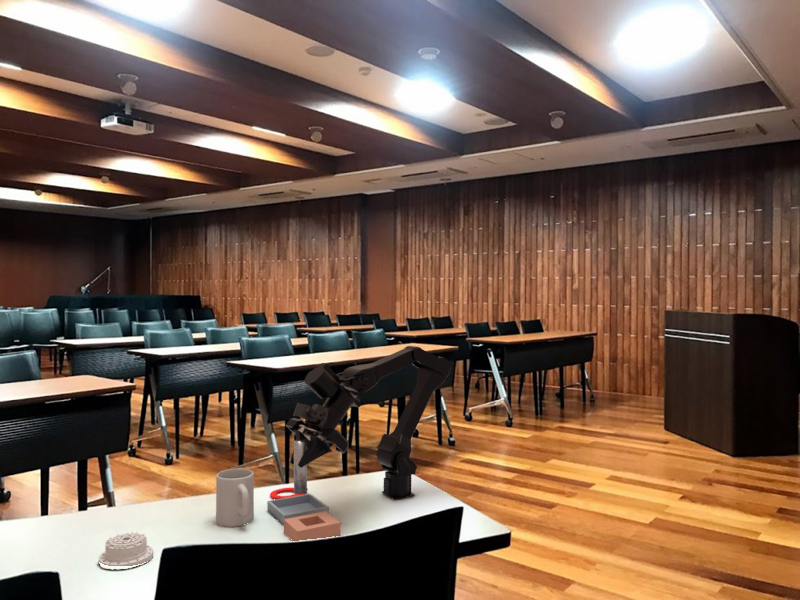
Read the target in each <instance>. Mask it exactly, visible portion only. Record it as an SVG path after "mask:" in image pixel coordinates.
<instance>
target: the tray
mask: <svg viewBox="0 0 800 600" xmlns="http://www.w3.org/2000/svg"><path fill="white" fill-rule="evenodd" d="M266 503H267V504H266V505H267V506H266V507H267V508H266V509H267V510H266V511H267V513H268V514H269V515H270V516H272V517H273V518H275V520H276V521H277V520H278V522H279V524H281V525H282V526H283V527H284V519H288V518H293V517H298V516H304V515H309V514H314V513H319V512H324V511H325V512H327V513H328V514H330V506H329V505H327V504H326V503H324V502H323V501H322V500H320V499H318V498H317V497H316V496H315V495H313V494H311V493H306V494H305V495H299V496H294V497H288V498H282V499H277V500H274V499H271V500H268V501H267V502H266Z"/></svg>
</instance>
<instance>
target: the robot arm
mask: <svg viewBox="0 0 800 600" xmlns="http://www.w3.org/2000/svg"><path fill="white" fill-rule="evenodd" d="M450 364H451V363H450V362H449V359H447V358H446V357H443V356H437V355H435V354H433V353H431V352H429V351H426V350H425V349H423V348H421V347H420V346H414V345H407V346H405V347H404V348H403V349H400V350H398V351H396V352H394V353H391V354H389V355H387V356H385V357H382V358H380V359H378V360H376V361H373V362H370V363H364V364H358V365H353V366H349V367H347V368H346V369H344V370H343V372H339V373H335V371H334V370H333V369H332V368H331V366H330V365H329V364H328V363H325V362H321V364H320V365H319V366H317V367H315V368H313V369H312V370H310V371H309V372H307V375H306V376H305V378H304V384H305V385H306V386H308V388H309V389H311V390H312V392H313V393H314V394H316V395H317V397H318V398H320V399H321V400H322V399H326V400H325V402H324V403H323V404H322V405H321V404H318V403H314V404H313V405H312V406H311V405H308V404H304V403H300V402H297V404H296V406H295V409H294V412H293V414H292V415H293V417H292V418H289V419H288V421H287V422H286V424H285V427H287V428H288V429H289V431H290V432H292V433H293V434H294V435H295V440H297V439H305V440H307V449H306V451H305V453H304V454H303V456H302V458H301V459H300V461H299V463H298V466H299V467H301V468H302V467H303V466H305V465H307V466H308V464H310V463H312V462H313V461H315V460H317V459H319V458H320V457H324V456H325V455H327V454H328V453H330V454H331V453H332V452H333V450H332V447H333V446H335V451H336V452H338V453H340V454H341V453H342V454H345V453H346V451H347V450H348V448H349V441H348V439H346V437H344V436H343V435H342V434H341V432H339V431H338V430H337V428H338V426H341V427H342V426H343V425H344V424H345V422H344V421H343V418H344V417H345V416H346V414H347V413H348V411H349V410H350V408H351V407H355V408H361V405H362V404H361V401H360V395H355V394H353V393H352V392H356V393H360V394H364V393H366V392H368V391H370V390H371V389H372V388H373V387H375V386H376V385H377V384H378V382H379V381H380V380H382V379H383V378H384V377H387V376H389V375H390V374H393V373H395V372H398V371H400V370H401V369H404V368H406V367H409V366H411V365H412V366H413V367H415V368H417V371H416V384H415V387H414V388H413V389H412V393H411V394H410V397H409V399H408V401H407V403H406V405H405V407H404V409H403V412H402V413H401V415H400V417H399V420H398V422H397V424H396V426H395V428H394V430H393V431H392V432H391V433H389V434H387V433H383V435H381V439H380V442H379V444H378V445H377V446H376V448H377V450H376V460H377V462H379V464H380V466H381V469H382V470H385V472H384V477H383V491H381V494H382V495H385V496H386V497H387V498H389V499H391V500H394V501H396V500H401V499H406V498H412V497H415V496H416V494H415V493H414V492H412V475H415V474H416V471H417V468H418V466H417V464H416V463H415V462H414V461H413V460H412V459H411V458H410V456H411V453H412V438H413V435H414V433H415V431H416V429H417V427H418V425H419V422H420V420H422V419H421V418H422V416H423V415H424V411H426V408H427V406H428V404H429V401H430V399H431V397H432V396H433V393H434V391H435V390H436V389H438V387H440V386H441V385H442V384H444V382H445V381H446V379H447V377H449V375H450V371H451V369H452V368H451V365H450ZM342 386H343V387H344V388H343V387H342ZM351 391H352V392H351ZM295 417H296V418H295ZM299 418H301V419H299ZM289 463H290V465H294V449H293V450H292V454H291V457H290V460H289Z"/></svg>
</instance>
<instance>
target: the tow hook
mask: <svg viewBox="0 0 800 600" xmlns="http://www.w3.org/2000/svg"><path fill="white" fill-rule="evenodd" d="M308 491H309V489H308V487H307V492H308ZM307 492H306V493H304V494H295V493H294V487H282V488H278V489H275V490H272V491H271V492H270V493H269V497H271V498H272V499H271V498H270V499H271V500H274V499H275V500H277V499H282V498H288V497H294V496H299V495H305V494H307ZM282 493H293V494H290V495H279V494H282Z"/></svg>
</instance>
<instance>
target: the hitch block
mask: <svg viewBox="0 0 800 600" xmlns="http://www.w3.org/2000/svg"><path fill="white" fill-rule="evenodd" d="M283 534H284V535H285V536H286V537H288V538H289V540H291V539H292V540H291V541H292V542H293V541H299V540H307V539H317V538H326V537H332V536H339V537H341V522H340V521H339V520H338V519H336V518H335V517H334V516H333V515H331V513H329V514H328V513H327V512H325V511H324V512H319V513H314V514H309V515H304V516H298V517H293V518H288V519H284V526H283Z"/></svg>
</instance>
